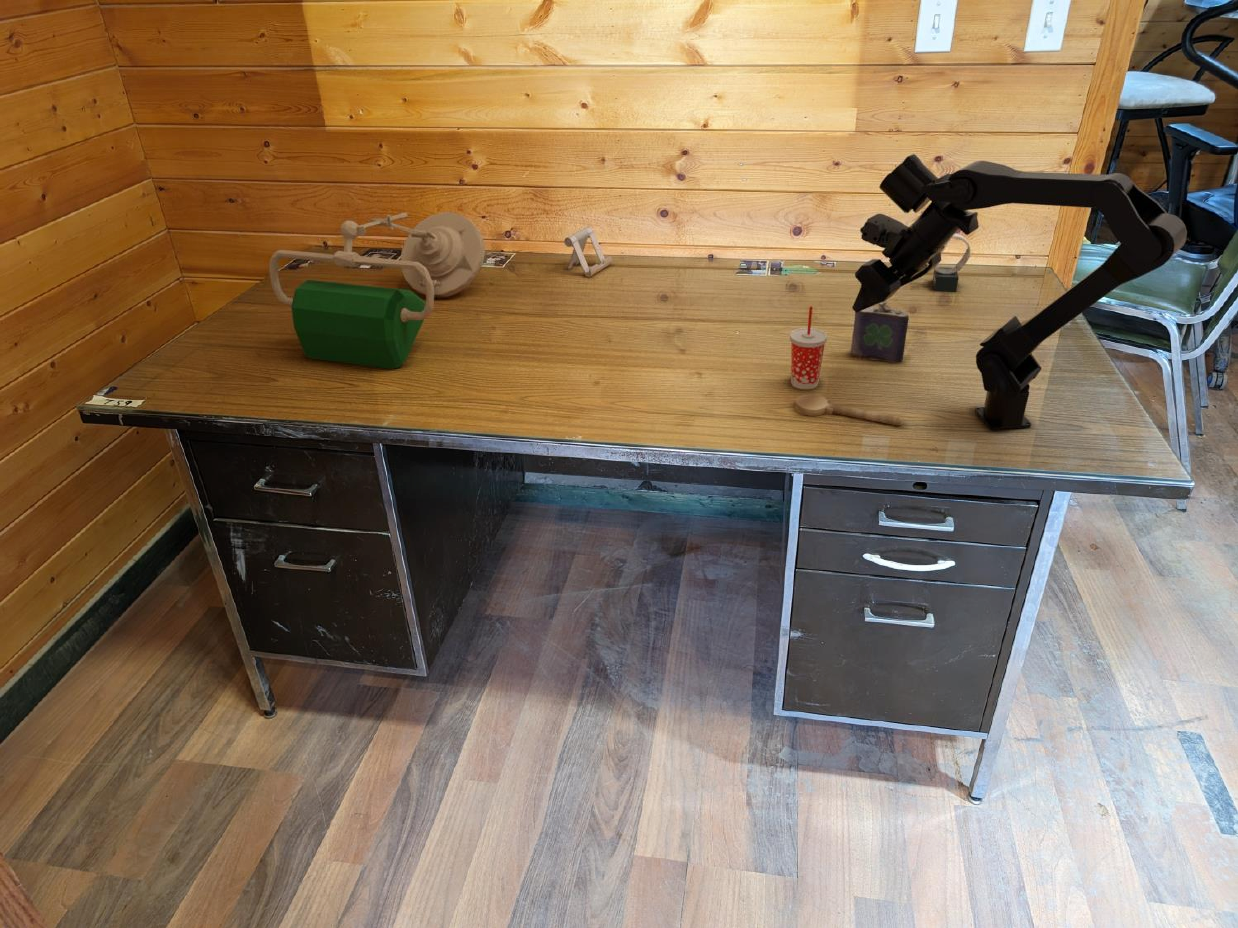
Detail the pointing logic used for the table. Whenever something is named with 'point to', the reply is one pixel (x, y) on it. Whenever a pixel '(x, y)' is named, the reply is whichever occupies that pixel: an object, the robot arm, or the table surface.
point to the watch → (950, 271)
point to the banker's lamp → (382, 291)
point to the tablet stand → (578, 244)
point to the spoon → (839, 410)
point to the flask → (880, 333)
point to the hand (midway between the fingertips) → (868, 301)
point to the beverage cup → (806, 355)
